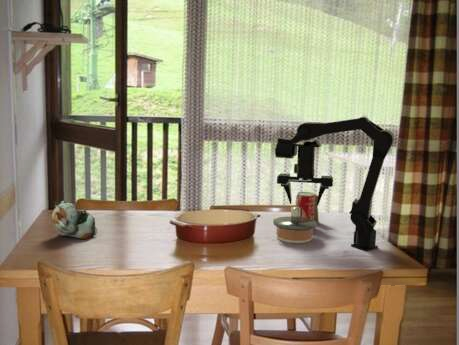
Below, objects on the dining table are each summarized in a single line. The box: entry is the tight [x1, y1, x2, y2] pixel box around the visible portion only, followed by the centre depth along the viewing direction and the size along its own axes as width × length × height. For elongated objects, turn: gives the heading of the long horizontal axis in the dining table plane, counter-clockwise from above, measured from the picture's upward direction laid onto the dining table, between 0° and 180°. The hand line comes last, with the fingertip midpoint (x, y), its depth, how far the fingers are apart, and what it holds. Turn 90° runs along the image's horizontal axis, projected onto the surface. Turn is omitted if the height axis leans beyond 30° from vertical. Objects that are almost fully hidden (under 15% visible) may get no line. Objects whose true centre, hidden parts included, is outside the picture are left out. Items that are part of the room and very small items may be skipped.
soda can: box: [294, 191, 315, 220], centre depth 196 cm, size 7×7×13 cm
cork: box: [313, 193, 319, 225], centre depth 205 cm, size 6×6×11 cm
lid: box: [272, 206, 318, 230], centre depth 182 cm, size 15×15×6 cm
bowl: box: [275, 226, 314, 244], centre depth 183 cm, size 12×12×5 cm
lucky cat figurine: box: [51, 200, 98, 240], centre depth 177 cm, size 15×12×14 cm
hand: (304, 204), depth 181 cm, fingers open, 9 cm apart
